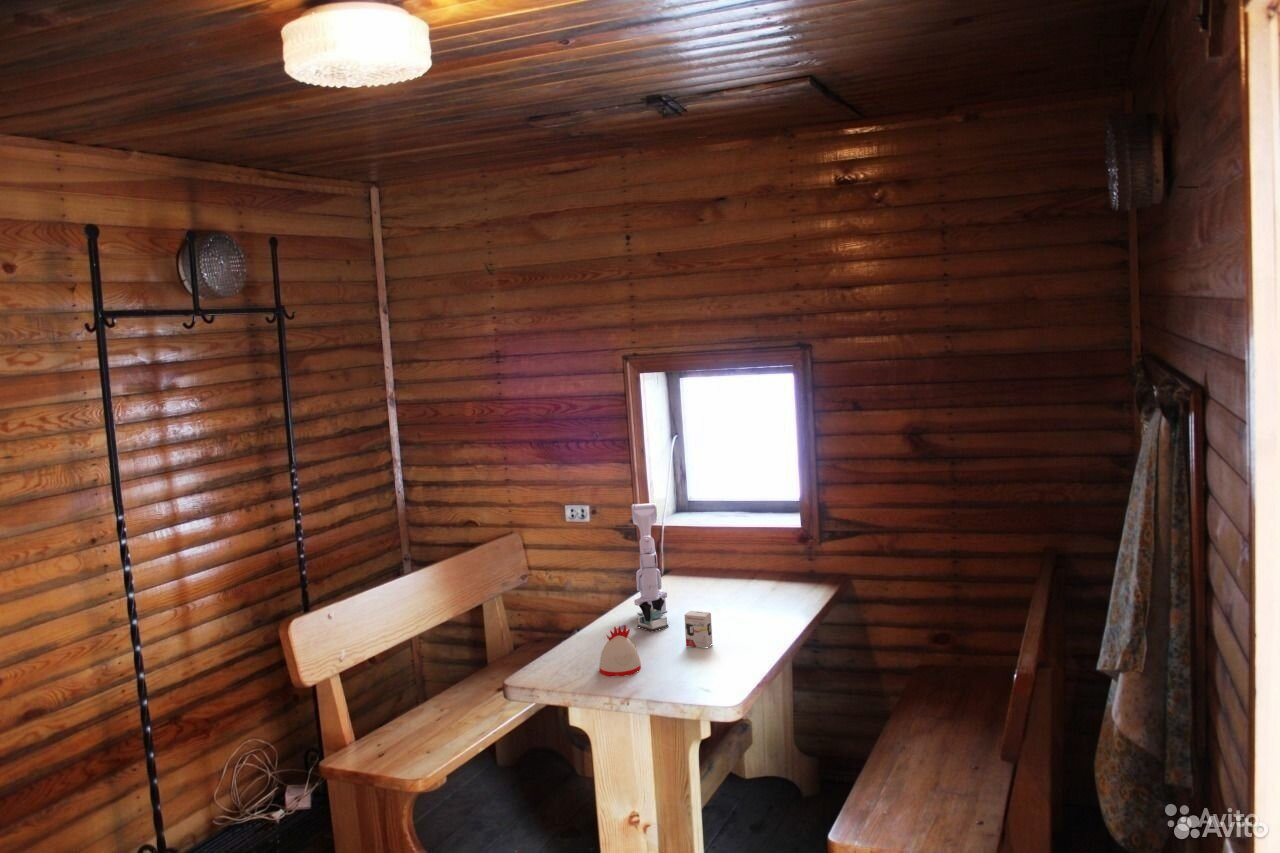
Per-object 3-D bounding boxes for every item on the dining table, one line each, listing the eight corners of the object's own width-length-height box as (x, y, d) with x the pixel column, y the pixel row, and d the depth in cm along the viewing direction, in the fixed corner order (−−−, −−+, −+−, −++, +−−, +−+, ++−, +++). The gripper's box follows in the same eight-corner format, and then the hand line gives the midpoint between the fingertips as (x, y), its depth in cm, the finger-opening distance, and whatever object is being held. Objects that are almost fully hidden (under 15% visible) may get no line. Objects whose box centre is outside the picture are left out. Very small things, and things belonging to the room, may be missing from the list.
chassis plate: (653, 622, 393) (652, 612, 393) (668, 626, 386) (667, 616, 386) (637, 627, 388) (636, 617, 388) (652, 632, 381) (651, 621, 381)
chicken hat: (645, 672, 337) (643, 628, 336) (605, 679, 333) (602, 634, 332) (634, 660, 350) (631, 617, 349) (595, 666, 347) (592, 623, 345)
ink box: (685, 646, 361) (683, 614, 360) (691, 642, 366) (689, 610, 364) (707, 648, 357) (705, 616, 356) (713, 644, 362) (711, 612, 360)
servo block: (650, 620, 391) (649, 606, 391) (663, 624, 385) (662, 609, 384) (642, 622, 389) (641, 608, 388) (655, 626, 382) (654, 612, 382)
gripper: (641, 590, 378) (644, 626, 379) (671, 582, 387) (673, 617, 388) (630, 587, 383) (632, 622, 385) (659, 579, 392) (661, 613, 394)
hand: (652, 619), depth 387 cm, fingers closed on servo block, 4 cm apart
